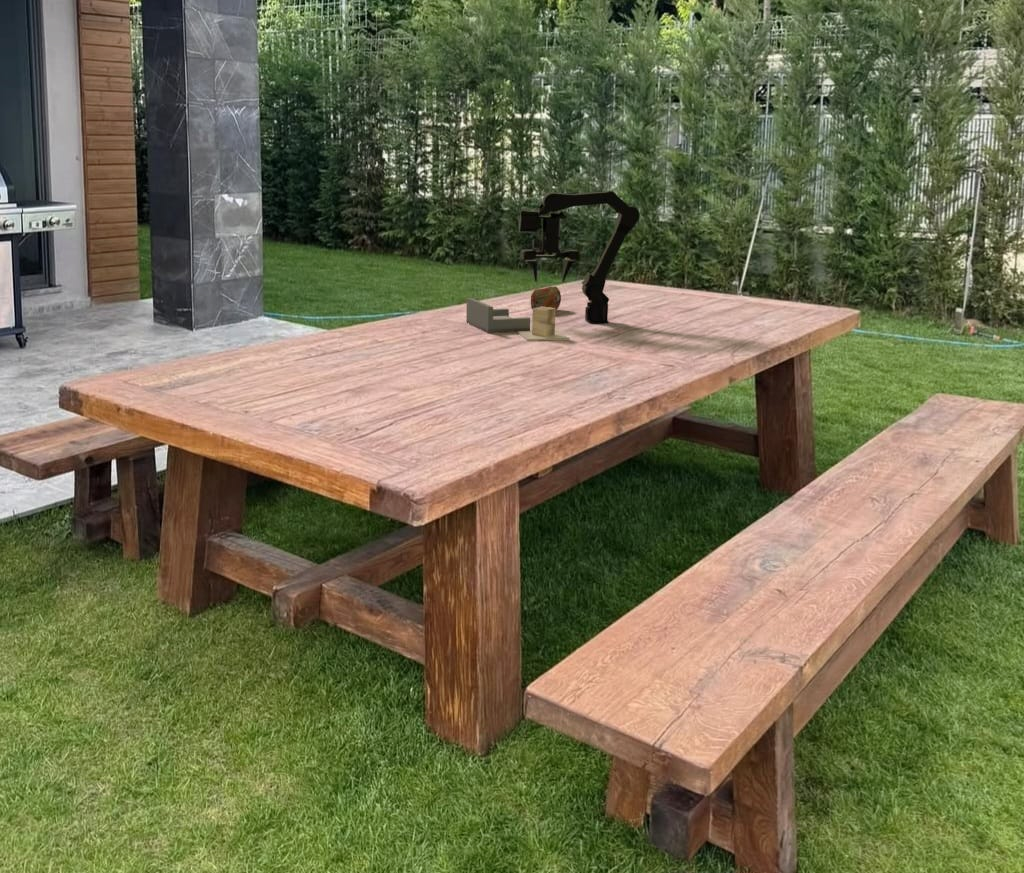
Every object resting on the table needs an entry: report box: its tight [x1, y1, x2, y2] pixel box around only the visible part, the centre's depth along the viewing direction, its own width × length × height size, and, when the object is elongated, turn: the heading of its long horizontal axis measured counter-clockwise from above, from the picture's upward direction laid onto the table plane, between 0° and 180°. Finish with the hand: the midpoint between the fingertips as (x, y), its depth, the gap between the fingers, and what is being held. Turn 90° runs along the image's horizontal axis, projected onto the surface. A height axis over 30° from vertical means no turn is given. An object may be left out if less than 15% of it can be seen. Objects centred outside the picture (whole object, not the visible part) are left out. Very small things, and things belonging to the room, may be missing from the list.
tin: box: [530, 286, 562, 311], centre depth 380 cm, size 15×3×8 cm, turn 143°
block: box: [531, 307, 556, 337], centre depth 334 cm, size 5×5×8 cm
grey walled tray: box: [465, 297, 531, 334], centre depth 349 cm, size 14×19×8 cm
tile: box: [517, 329, 571, 342], centre depth 335 cm, size 13×13×1 cm
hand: (549, 281), depth 358 cm, fingers open, 9 cm apart
